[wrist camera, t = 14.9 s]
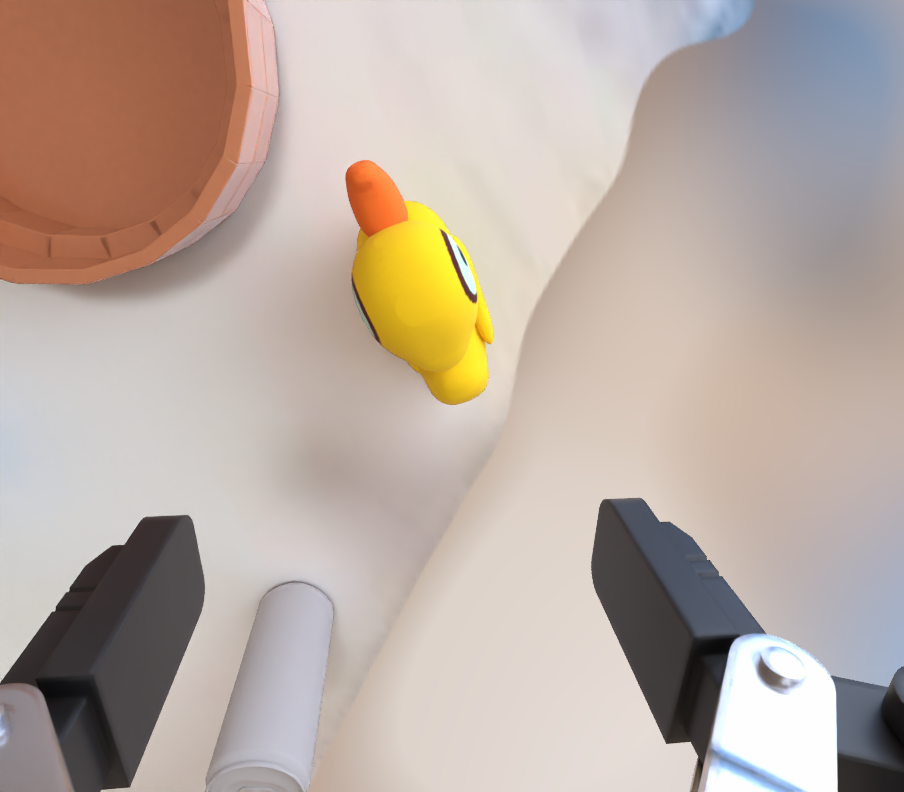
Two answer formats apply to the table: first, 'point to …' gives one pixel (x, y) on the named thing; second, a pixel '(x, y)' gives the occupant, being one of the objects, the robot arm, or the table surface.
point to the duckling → (418, 287)
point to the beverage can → (276, 696)
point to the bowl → (126, 129)
